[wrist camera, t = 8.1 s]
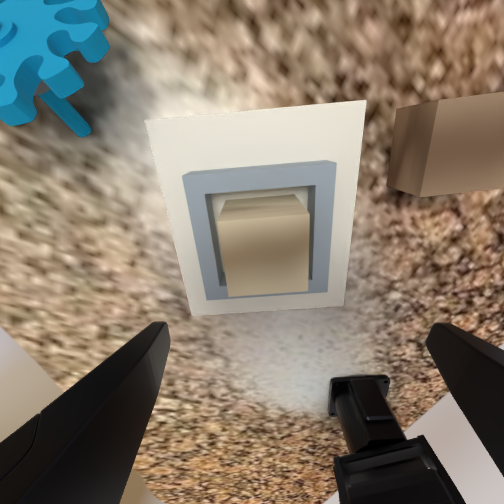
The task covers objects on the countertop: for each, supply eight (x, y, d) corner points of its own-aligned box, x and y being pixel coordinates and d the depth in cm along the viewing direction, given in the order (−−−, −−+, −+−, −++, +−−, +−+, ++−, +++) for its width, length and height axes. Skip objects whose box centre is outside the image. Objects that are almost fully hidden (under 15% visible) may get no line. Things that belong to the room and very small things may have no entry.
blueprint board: (340, 300, 22) (352, 323, 20) (193, 310, 23) (186, 333, 20) (361, 101, 15) (384, 93, 13) (149, 121, 16) (128, 117, 13)
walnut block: (453, 177, 18) (506, 187, 14) (385, 185, 18) (419, 197, 14) (473, 99, 15) (541, 87, 12) (395, 108, 16) (438, 100, 12)
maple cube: (294, 255, 19) (308, 291, 15) (233, 260, 19) (228, 296, 15) (294, 194, 17) (309, 213, 13) (225, 199, 17) (216, 221, 13)
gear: (118, -52, 11) (36, 104, 8) (170, 76, 17) (134, 198, 14) (-74, -32, 13) (-211, 108, 9) (33, 81, 18) (-29, 193, 15)
